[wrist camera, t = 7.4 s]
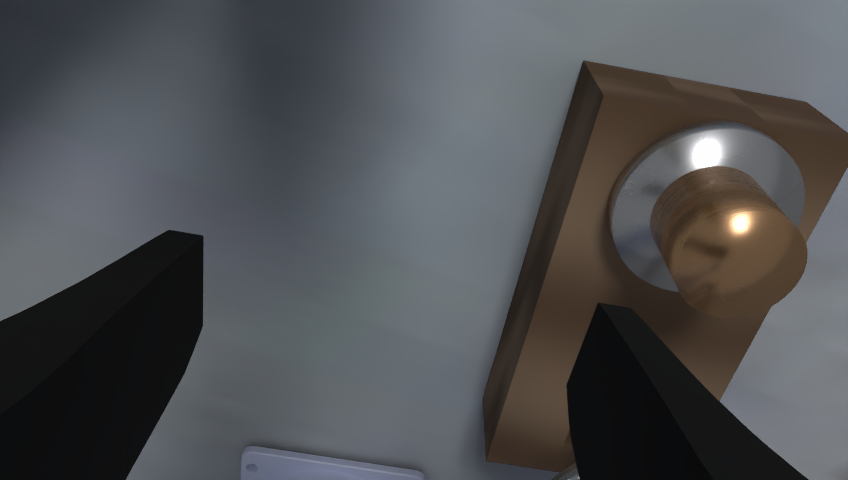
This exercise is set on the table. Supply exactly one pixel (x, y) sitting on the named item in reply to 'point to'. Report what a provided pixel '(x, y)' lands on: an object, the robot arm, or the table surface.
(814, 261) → the table surface
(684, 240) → the copper plunger
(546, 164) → the table surface
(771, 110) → the stand
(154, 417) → the robot arm
